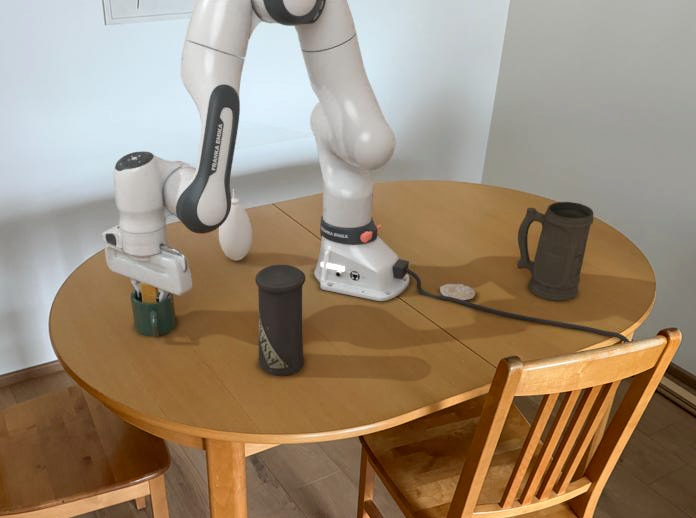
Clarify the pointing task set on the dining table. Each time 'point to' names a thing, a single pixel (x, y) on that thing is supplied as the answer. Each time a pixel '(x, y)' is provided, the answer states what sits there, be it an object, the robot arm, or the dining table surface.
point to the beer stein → (556, 249)
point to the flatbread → (458, 291)
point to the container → (280, 319)
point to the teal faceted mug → (153, 315)
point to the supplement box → (149, 293)
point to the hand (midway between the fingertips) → (152, 300)
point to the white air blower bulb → (236, 232)
